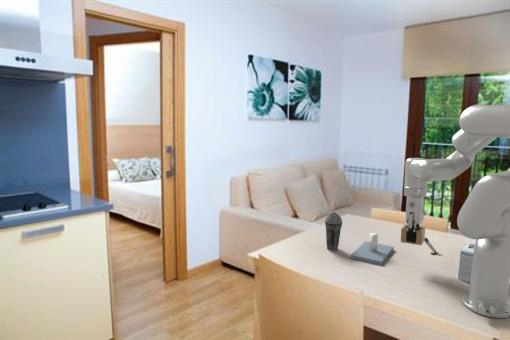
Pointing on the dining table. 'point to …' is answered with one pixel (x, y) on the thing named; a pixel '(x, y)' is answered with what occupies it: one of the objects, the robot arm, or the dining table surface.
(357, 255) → the post board
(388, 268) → the dining table surface
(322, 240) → the dining table surface
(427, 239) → the tactical tomahawk
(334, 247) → the beverage cup
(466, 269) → the light bulb box
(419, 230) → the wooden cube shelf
